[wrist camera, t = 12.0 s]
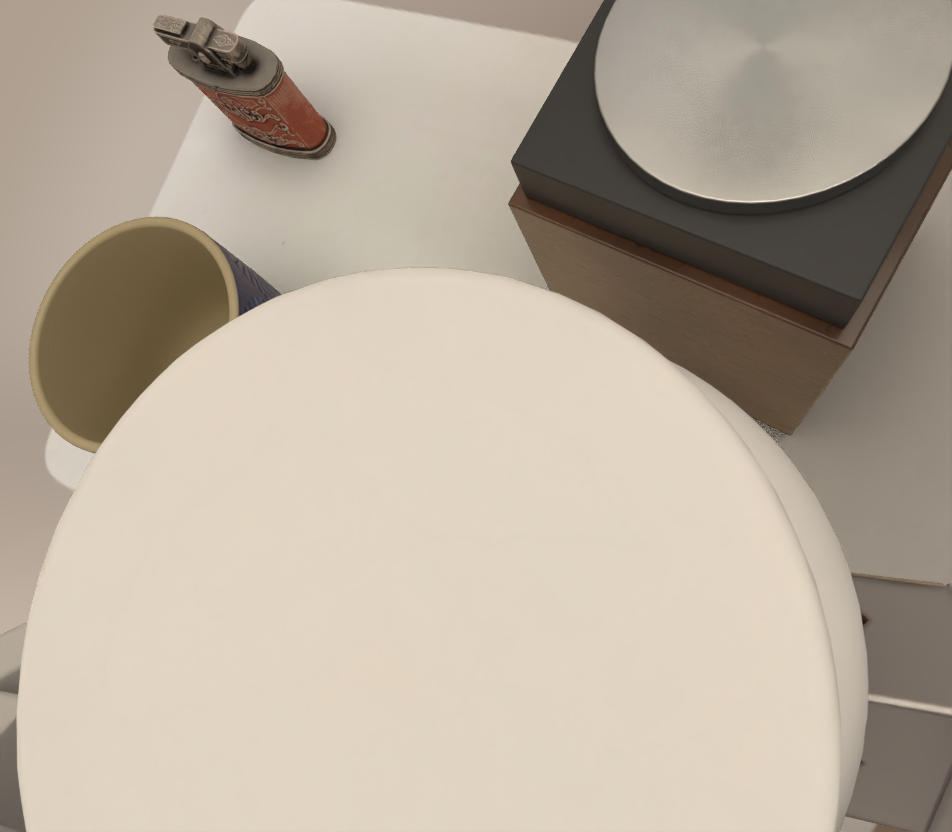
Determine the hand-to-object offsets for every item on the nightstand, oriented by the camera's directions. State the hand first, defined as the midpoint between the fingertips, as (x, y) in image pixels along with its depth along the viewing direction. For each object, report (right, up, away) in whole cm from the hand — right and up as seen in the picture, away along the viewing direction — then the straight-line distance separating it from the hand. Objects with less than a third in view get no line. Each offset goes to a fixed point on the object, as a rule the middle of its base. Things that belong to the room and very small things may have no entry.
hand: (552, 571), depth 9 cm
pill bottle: (+2, -2, +6) cm, 6 cm away
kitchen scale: (+9, +13, +17) cm, 23 cm away
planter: (-15, +4, +38) cm, 41 cm away
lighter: (-14, +21, +41) cm, 49 cm away
